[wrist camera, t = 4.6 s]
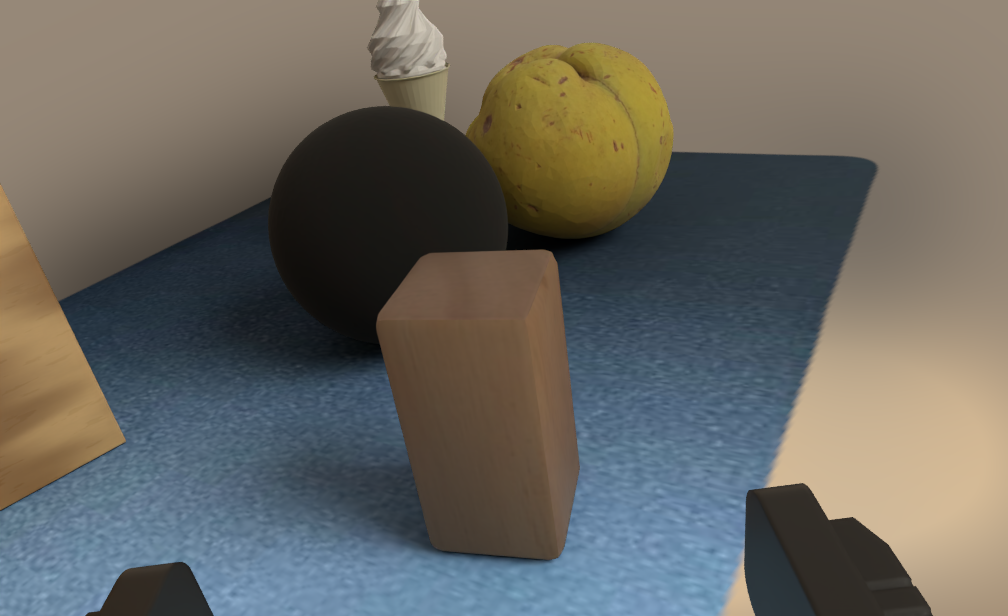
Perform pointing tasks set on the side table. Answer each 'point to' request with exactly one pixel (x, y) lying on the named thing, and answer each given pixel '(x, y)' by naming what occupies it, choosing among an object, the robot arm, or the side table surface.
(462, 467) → the wooden block
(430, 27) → the ice cream cone
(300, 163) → the decorative ball
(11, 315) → the stand
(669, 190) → the side table surface
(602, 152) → the fruit
